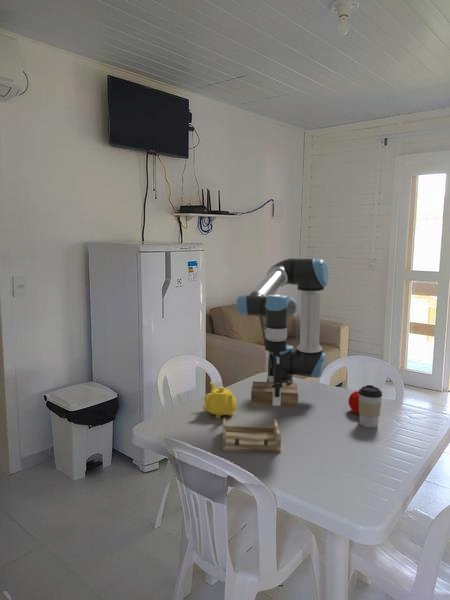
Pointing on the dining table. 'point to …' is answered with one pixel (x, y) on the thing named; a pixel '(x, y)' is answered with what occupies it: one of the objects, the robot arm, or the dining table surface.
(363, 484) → the dining table surface
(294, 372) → the robot arm
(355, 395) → the tomato
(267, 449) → the box
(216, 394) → the teapot
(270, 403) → the door
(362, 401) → the coffee cup
